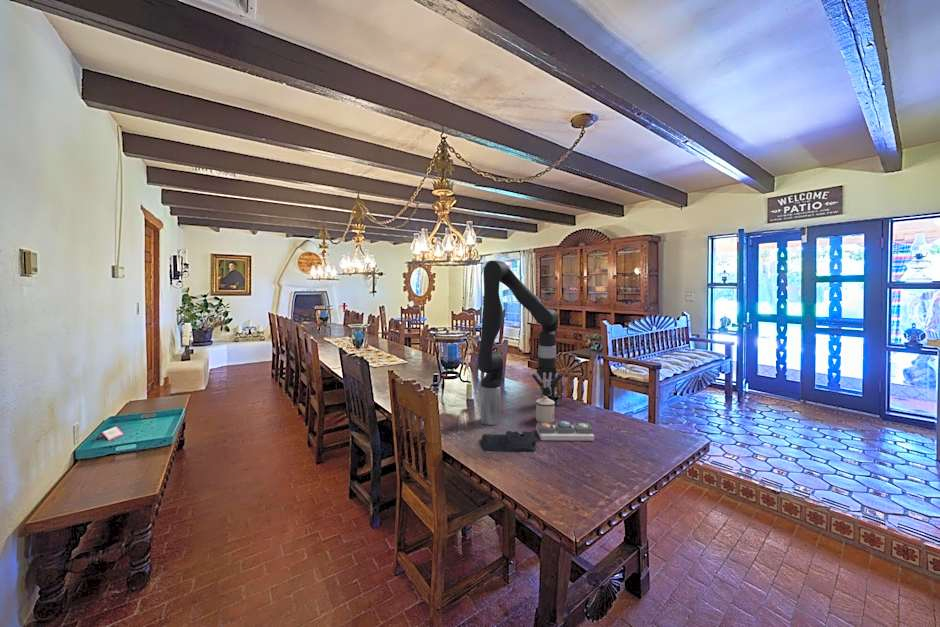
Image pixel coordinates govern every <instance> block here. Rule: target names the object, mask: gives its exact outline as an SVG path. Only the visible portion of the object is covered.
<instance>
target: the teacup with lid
mask: <svg viewBox="0 0 940 627" xmlns="http://www.w3.org/2000/svg"><path fill="white" fill-rule="evenodd" d="M554 405H555V402H554V401H553V400H550V399H549V398H548V397H547V396H544V395H543V398H542V397H541V398H538V399H536V400H535V420H536V422H537V423H552V424H553V423H554V422H555V407H554Z"/></svg>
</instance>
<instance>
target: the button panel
mask: <svg viewBox="0 0 940 627" xmlns="http://www.w3.org/2000/svg"><path fill="white" fill-rule="evenodd" d="M580 423H582V424H587V425H588V428H578V424H580ZM541 424H543V423H541V422H537V423H536V426H535V429H536V432H537V434H538V436H539V439H540V441H578V442H579V441H585V442H586V441H592V442H594V441H595V435H594V434H593V431H594V429H593V427H592V426H591V425H590V423H589V422H573V424H571V423H570V428H559V422H554V424H553V422H552V423H547V424H550V425H551V428H541V427H540V425H541Z"/></svg>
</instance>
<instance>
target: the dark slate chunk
mask: <svg viewBox="0 0 940 627" xmlns="http://www.w3.org/2000/svg"><path fill="white" fill-rule="evenodd" d="M537 442H538V441H537V438H536V436H535V433H534V431H532V430H531V431H522V433H520V432H518V431H510V430H507V431H506V432H505V433H504V434H502V433H497V434H495V433H494V434H491V433H483V434H482V436H481V446H482V449H483V450H484V451H485V452H486V451H492V452H493V453H494V451H495V452H496V453H498V452H499V453H512V452H513V453H521V452H522V453H534V452H535V451H537V448H536V445H537V444H536V443H537Z"/></svg>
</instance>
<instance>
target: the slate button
mask: <svg viewBox="0 0 940 627" xmlns="http://www.w3.org/2000/svg"><path fill="white" fill-rule="evenodd" d="M558 423H559V428H570V424H571V423H570V422H569V421H567V420H561V421H559V422H558Z"/></svg>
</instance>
